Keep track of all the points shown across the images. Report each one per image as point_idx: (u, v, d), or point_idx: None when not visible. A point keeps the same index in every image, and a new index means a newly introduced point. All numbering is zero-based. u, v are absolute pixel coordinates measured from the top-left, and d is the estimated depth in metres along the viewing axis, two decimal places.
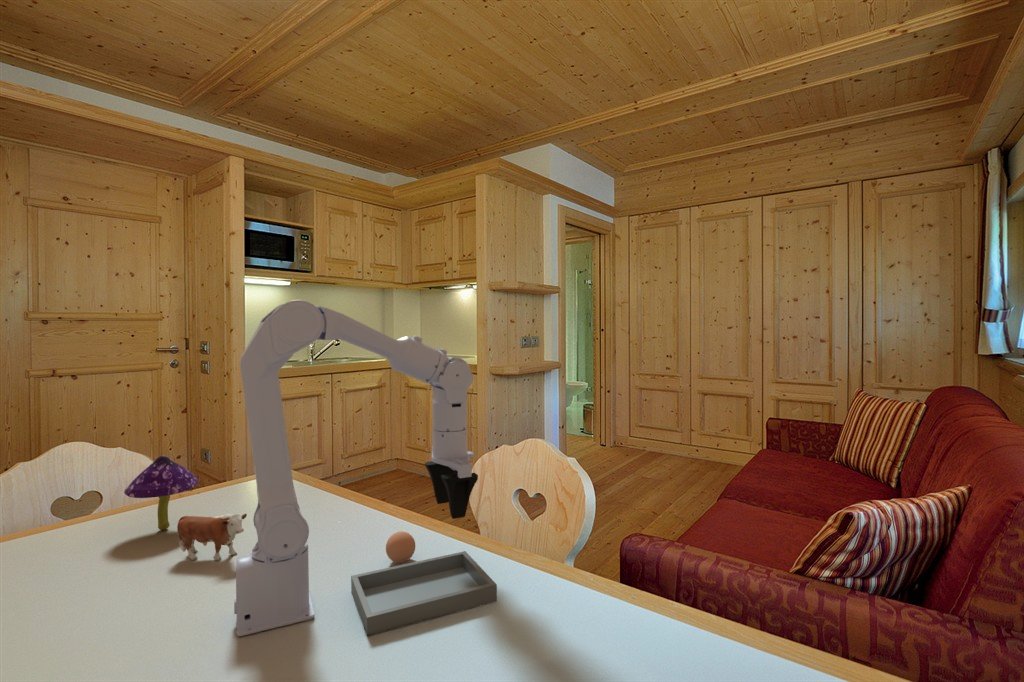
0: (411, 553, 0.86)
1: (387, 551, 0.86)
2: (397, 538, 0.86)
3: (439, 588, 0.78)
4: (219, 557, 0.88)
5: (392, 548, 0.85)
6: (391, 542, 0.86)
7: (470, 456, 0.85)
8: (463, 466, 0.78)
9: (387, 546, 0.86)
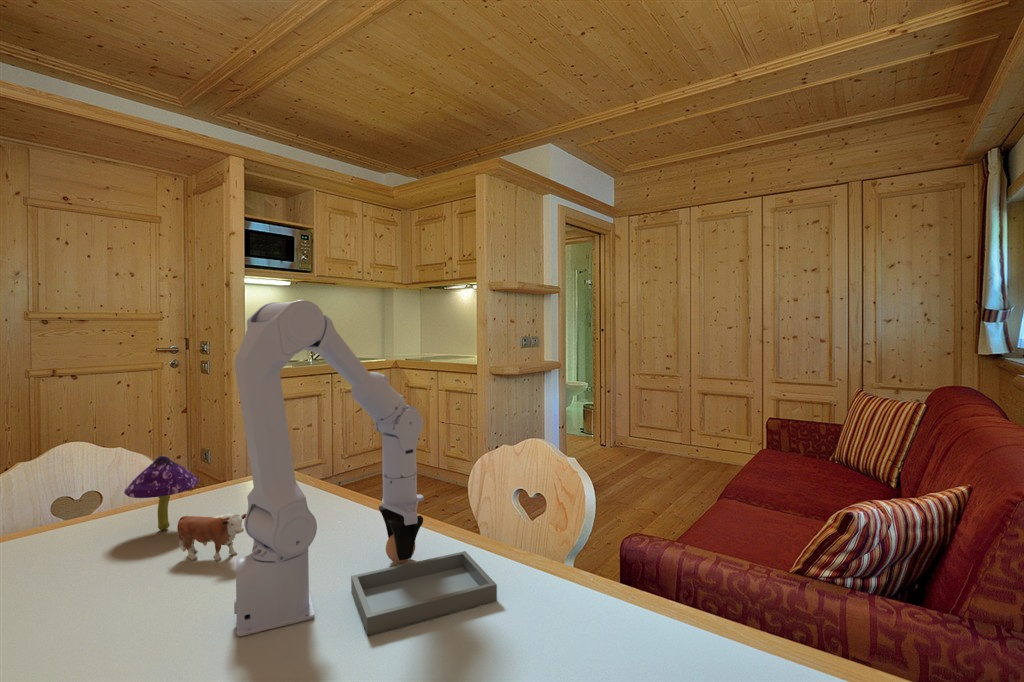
0: None
1: (387, 551, 0.86)
2: None
3: (439, 588, 0.78)
4: (219, 557, 0.88)
5: (392, 548, 0.85)
6: (391, 542, 0.86)
7: (420, 500, 0.88)
8: (409, 513, 0.81)
9: (387, 546, 0.86)
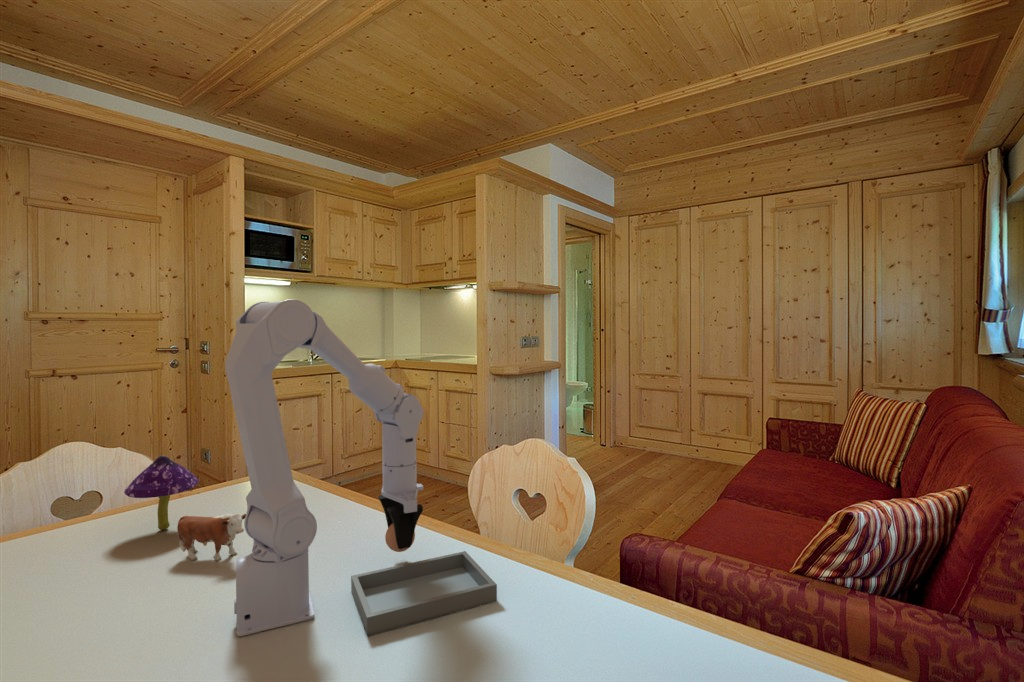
0: None
1: (387, 540, 0.86)
2: None
3: (439, 588, 0.78)
4: (219, 557, 0.88)
5: (392, 537, 0.85)
6: (391, 531, 0.86)
7: (419, 489, 0.88)
8: (408, 501, 0.80)
9: (387, 535, 0.86)
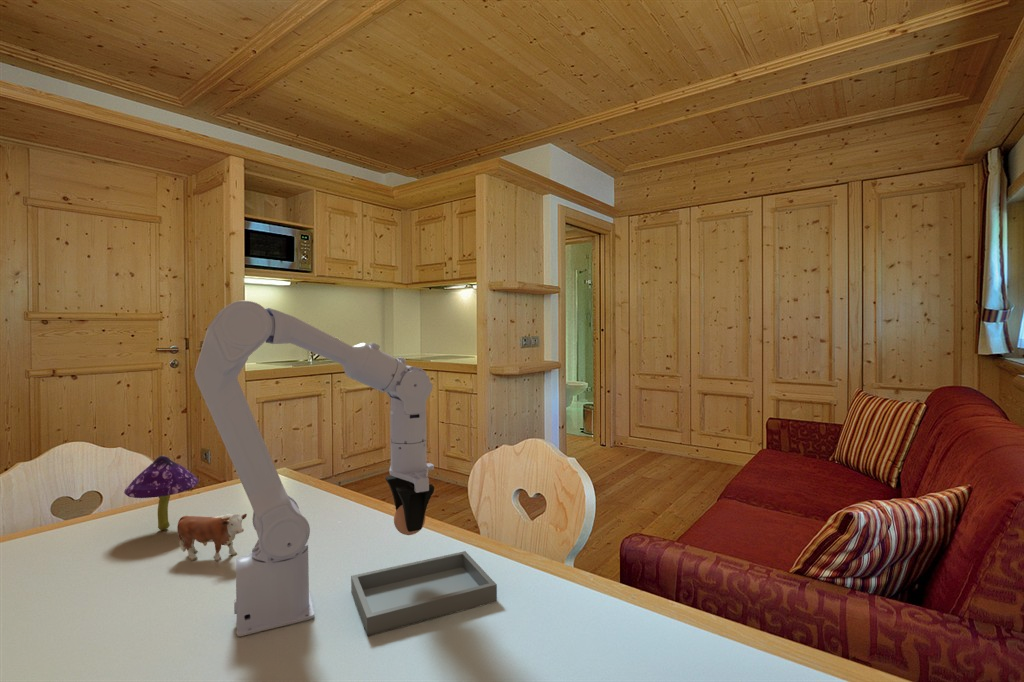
0: None
1: (395, 522, 0.80)
2: None
3: (439, 588, 0.78)
4: (219, 557, 0.88)
5: (401, 519, 0.79)
6: (400, 513, 0.80)
7: (430, 468, 0.82)
8: (420, 480, 0.75)
9: (395, 517, 0.80)
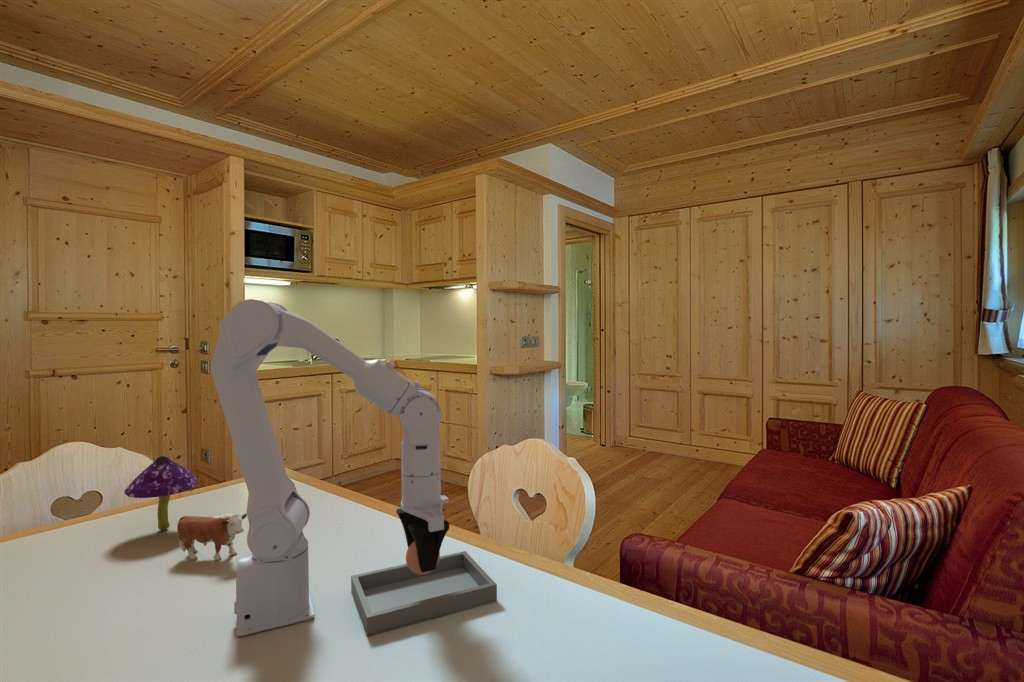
0: None
1: (408, 561, 0.74)
2: None
3: (439, 588, 0.78)
4: (219, 557, 0.88)
5: (414, 558, 0.73)
6: (412, 551, 0.74)
7: (444, 502, 0.76)
8: (434, 518, 0.69)
9: (408, 555, 0.74)
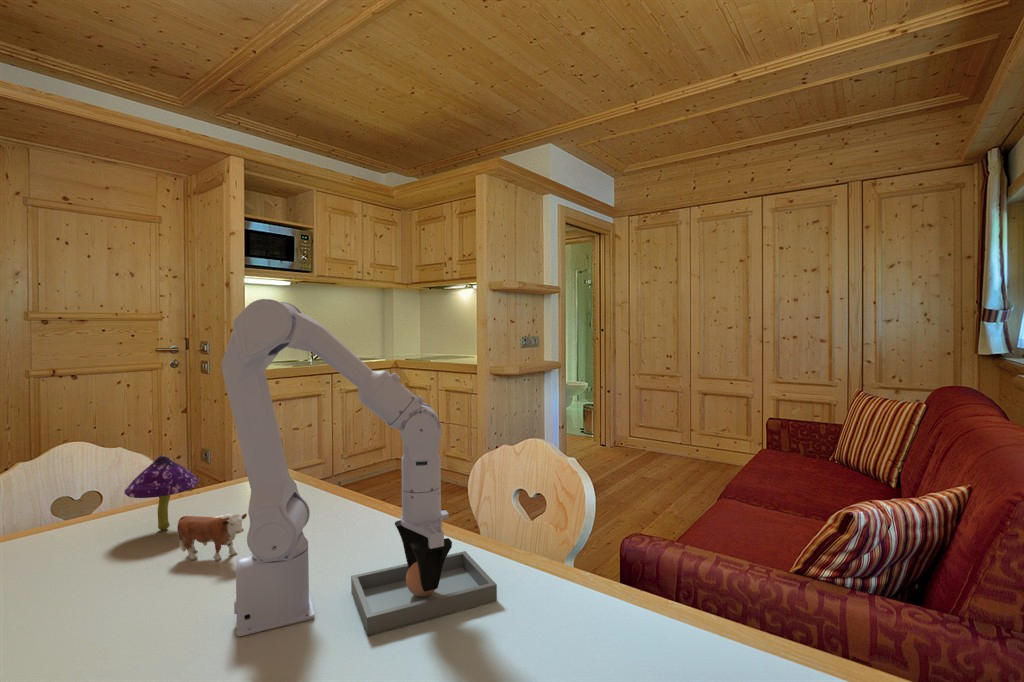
0: None
1: (408, 583, 0.74)
2: None
3: (439, 588, 0.78)
4: (219, 557, 0.88)
5: (414, 580, 0.73)
6: (412, 573, 0.74)
7: (444, 517, 0.76)
8: (434, 535, 0.69)
9: (408, 578, 0.74)
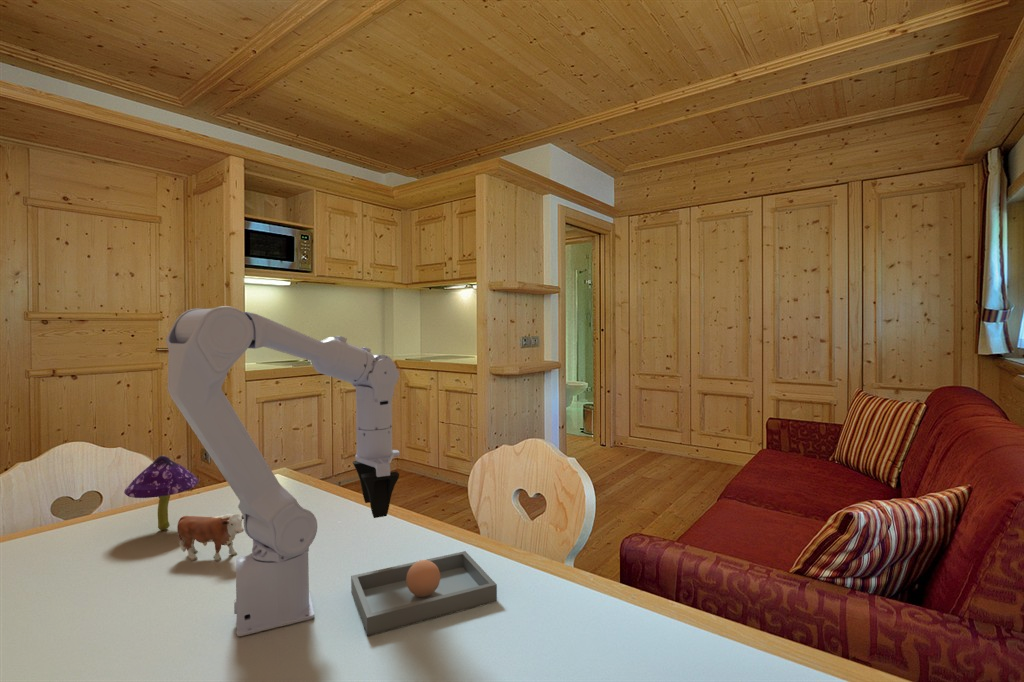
0: (436, 586, 0.75)
1: (408, 583, 0.74)
2: (420, 569, 0.74)
3: (439, 588, 0.78)
4: (219, 557, 0.88)
5: (415, 581, 0.73)
6: (413, 574, 0.74)
7: (395, 455, 0.84)
8: (381, 465, 0.77)
9: (408, 578, 0.74)
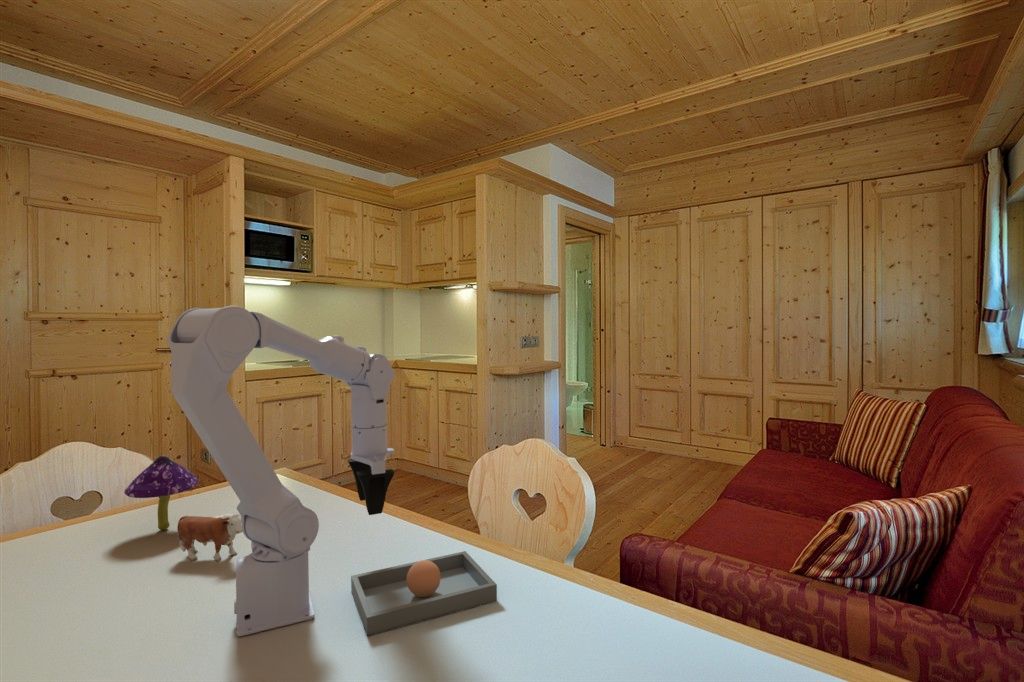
0: (436, 587, 0.75)
1: (408, 583, 0.74)
2: (421, 569, 0.74)
3: (439, 588, 0.78)
4: (219, 557, 0.88)
5: (415, 581, 0.73)
6: (414, 574, 0.74)
7: (390, 453, 0.85)
8: (376, 462, 0.78)
9: (409, 578, 0.74)
